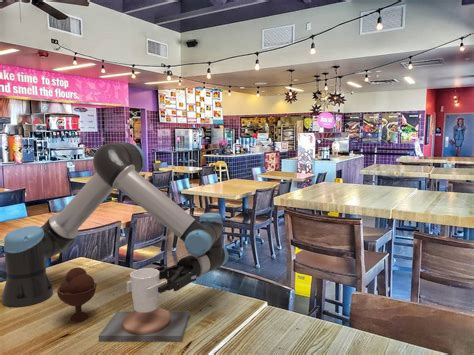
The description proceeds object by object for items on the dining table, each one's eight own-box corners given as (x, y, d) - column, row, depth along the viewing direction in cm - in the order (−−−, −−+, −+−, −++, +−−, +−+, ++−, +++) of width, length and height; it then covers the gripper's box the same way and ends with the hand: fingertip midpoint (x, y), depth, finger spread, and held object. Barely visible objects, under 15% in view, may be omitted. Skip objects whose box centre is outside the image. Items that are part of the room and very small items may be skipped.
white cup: (153, 315, 100) (152, 279, 99) (126, 312, 102) (124, 277, 100) (164, 302, 108) (163, 268, 107) (139, 300, 109) (138, 267, 108)
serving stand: (98, 341, 98) (98, 330, 98) (117, 316, 112) (116, 306, 112) (181, 341, 98) (181, 330, 98) (189, 316, 112) (189, 306, 112)
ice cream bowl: (50, 323, 108) (47, 273, 107) (78, 307, 119) (76, 261, 117) (79, 329, 105) (76, 277, 103) (105, 312, 115) (103, 265, 114)
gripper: (218, 284, 115) (164, 312, 96) (170, 271, 126) (114, 295, 108) (217, 260, 114) (163, 284, 95) (169, 250, 126) (113, 270, 107)
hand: (137, 290), depth 102 cm, fingers closed on white cup, 7 cm apart
